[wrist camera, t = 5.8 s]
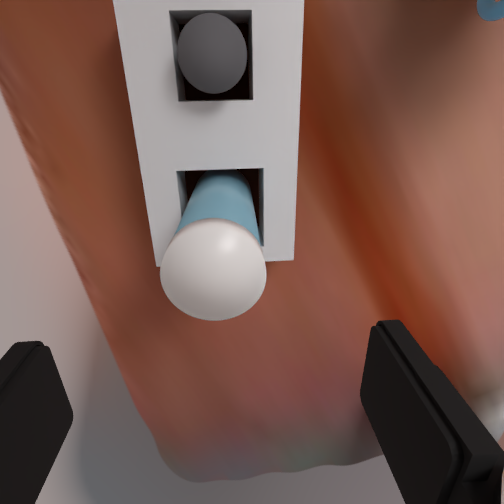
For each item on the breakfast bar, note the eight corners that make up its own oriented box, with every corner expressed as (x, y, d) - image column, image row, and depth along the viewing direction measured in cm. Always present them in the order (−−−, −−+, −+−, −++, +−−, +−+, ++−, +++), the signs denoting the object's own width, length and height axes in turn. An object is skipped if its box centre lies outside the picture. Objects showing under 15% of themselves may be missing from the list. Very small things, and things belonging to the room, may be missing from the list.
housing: (131, 9, 21) (111, -9, 17) (291, 7, 21) (304, -10, 18) (165, 243, 28) (156, 266, 24) (285, 238, 28) (293, 259, 25)
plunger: (185, 31, 21) (172, 13, 16) (241, 30, 21) (246, 12, 17) (190, 93, 23) (181, 94, 18) (243, 92, 23) (248, 92, 18)
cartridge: (191, 167, 25) (151, 230, 13) (250, 164, 25) (265, 224, 13) (197, 223, 27) (168, 323, 15) (252, 220, 27) (267, 317, 15)
